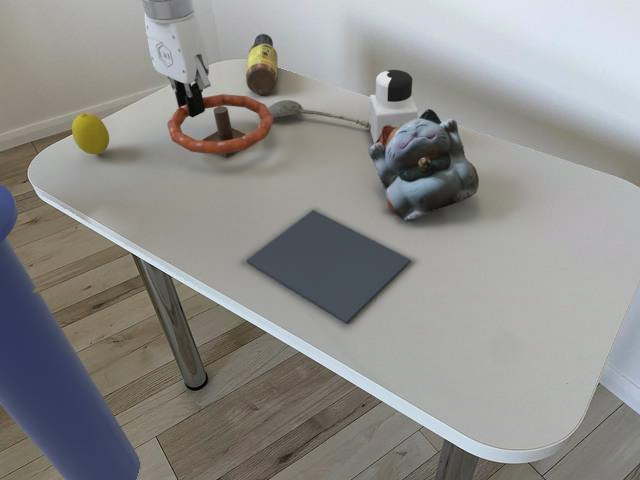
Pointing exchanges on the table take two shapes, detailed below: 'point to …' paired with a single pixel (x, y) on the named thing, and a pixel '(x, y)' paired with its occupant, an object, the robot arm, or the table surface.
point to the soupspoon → (305, 112)
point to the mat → (329, 264)
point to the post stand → (223, 129)
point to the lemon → (90, 134)
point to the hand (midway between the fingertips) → (192, 111)
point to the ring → (226, 145)
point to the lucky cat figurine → (423, 166)
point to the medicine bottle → (391, 101)
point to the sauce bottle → (262, 66)
